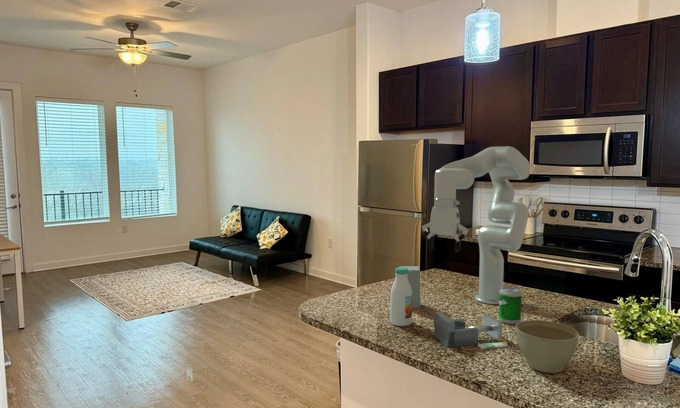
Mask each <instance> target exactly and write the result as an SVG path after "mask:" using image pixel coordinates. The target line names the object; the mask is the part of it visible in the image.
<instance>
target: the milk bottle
mask: <svg viewBox="0 0 680 408" xmlns="http://www.w3.org/2000/svg"><path fill="white" fill-rule="evenodd" d="M394 272H395V273H394V275H395V279H394V281H393V284H392V286H391V288H390V289H391V290H390V301H389V302H390V304H389V305H390V309H389V310H390V311H389V312H390V315H389V319H390V320H389V321H390V323H391V324H392V325H393V326H397V327H406V326H411V324H412V323H413V308H412V289H411V286H410V284H409V281H408V277H407V275H408V269H407V268H403V267H399V266H398V267H396V268H395V270H394Z"/></svg>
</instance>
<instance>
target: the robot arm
mask: <svg viewBox="0 0 680 408" xmlns="http://www.w3.org/2000/svg"><path fill="white" fill-rule="evenodd" d="M486 174H489V176H490V179H491V182H492V186H493V191H492V196H491V200H490V204H489V208H488V213H487V219H488V220H489V222H491V223H493V224H495V225H493V224H486V225H483V226H482V227H480V228H479V230H478V231H477V240H478V247H479V271H478V272H479V274H478V275H479V276H478V277H479V278H478V293H477V294H475V295H474V300H475V301H477V302H479V303H483V304H487V305H488V304H489V305H499V291H500V290H501V289H502V288H504V267H505V266H504V263H505V260H504V256H503V253H502V252H501V250H502V251H509V252H516V251H518V250H520V249H521V246H522V244H523V240H524V236H525V233H526V228H527V224H528V219H529V209H528V207H527V205H526V204H524V203H523V202H519V201H518V202H515V201H514V198H515V195H516V194H515V193H516V192H515V190H514V187H513V185H512V184H511V183H510V181H509V180H521V181H522V180H525V179H528V178H529V176H530V174H531V164H530V162H529V160H528V159H527V158H526V157H525V156H524V155H523V154H522V153H521V152H520V151H519V150H518V149H516V148H515V147H513V146H509V145H508V146H489V147H487V148H485V149H483V150H481V151H480V152H478V153H476V154H474V155H472V156H470V157H466V158H462V159H460V160H459V159H458V160H455V161H452V162H449V163H447V164H444V165H443V166H442V167H441V168H439V169H437V170H435V173H434V197H433V199H434V202H433V203H434V205H433V206H432V208H431V212H430V219H429V222H428V223H425V224H423V225H422V226H421V229H422V231H423V233H424V235H425V236H426V238H427V247H428V250H433V249H434V248H435V236H436V235H439V236H448V237H449V236H452V237H453V238H454V239H455V241H454V253H456V254H457V253H459V252H460V251H461V246H462V245H461V243H462V242H461V241H462V240H463V239H465V238H466V237H467V235H468V232H469V229H468V228H467V227H465V226H464V225H462V224H461V222H460V221H461V219H460V212H459V207H457V206H459V205H460V203H461V202H460V201H459V200H457V190H467V189H469V188H470V187H472V185H473V184H474V183H475V182H474V181H475V178H480V177H483V176H485V175H486ZM496 224H499V225H496ZM502 225H507V226H502ZM508 225H509V226H508ZM428 228H429V230H428ZM461 231H462V233H461ZM460 233H461V235H460Z"/></svg>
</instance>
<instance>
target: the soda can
mask: <svg viewBox="0 0 680 408" xmlns="http://www.w3.org/2000/svg"><path fill="white" fill-rule="evenodd" d="M522 295H523V293H522V292H521V290H520V289H519V288H517V287H512V286H510V287H509V286H505V287H504V286H503V288H502V289H501V290H500V291H499V304H498V320H499V321H500V322H502V324H506V325H516V324H517V323H519V322H521V321H522V319H521V318H522Z"/></svg>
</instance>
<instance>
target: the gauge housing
mask: <svg viewBox="0 0 680 408" xmlns="http://www.w3.org/2000/svg"><path fill="white" fill-rule="evenodd" d="M433 319H434V321H433V323H434V325H433V326H434V327H433V329H434V330H433V336H434V337H435V338H436V339H437V340H438V341H439V342H440V343H441V344H443V345H444V346H445V347H446V348H456V347H467V346H468V347H469V346H470V347H471V346H478V344H479V332H478V329H477V328H468V327H467V328H466V319H464V318H460V319H459V318H458V319H451V318H450V317H449V316H448V315H446V314H445V313H444V312H442V311H437V312H436V311H435V312H434V318H433Z"/></svg>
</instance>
